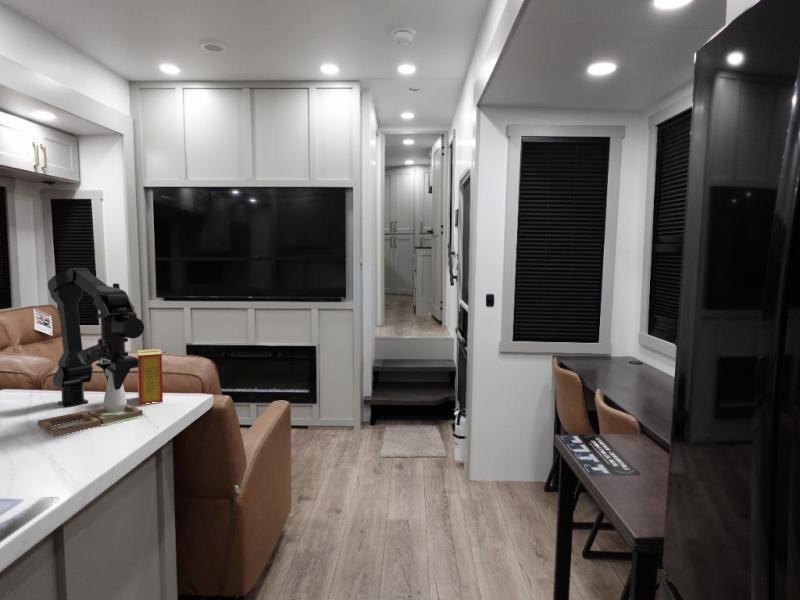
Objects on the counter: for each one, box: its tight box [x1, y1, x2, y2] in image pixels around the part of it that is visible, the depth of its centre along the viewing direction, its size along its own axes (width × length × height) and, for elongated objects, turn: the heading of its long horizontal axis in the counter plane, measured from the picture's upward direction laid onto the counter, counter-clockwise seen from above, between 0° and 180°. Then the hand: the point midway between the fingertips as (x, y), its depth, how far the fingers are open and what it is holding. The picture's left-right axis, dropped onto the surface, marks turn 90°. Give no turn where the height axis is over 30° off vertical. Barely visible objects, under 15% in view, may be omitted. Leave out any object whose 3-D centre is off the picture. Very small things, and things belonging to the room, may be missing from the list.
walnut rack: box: [37, 403, 144, 438], centre depth 134 cm, size 13×21×2 cm, turn 143°
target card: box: [99, 410, 147, 427], centre depth 137 cm, size 12×12×1 cm
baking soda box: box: [136, 348, 164, 406], centre depth 153 cm, size 10×6×16 cm
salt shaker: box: [102, 366, 128, 413], centre depth 136 cm, size 6×6×13 cm
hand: (114, 388), depth 136 cm, fingers closed on salt shaker, 3 cm apart
